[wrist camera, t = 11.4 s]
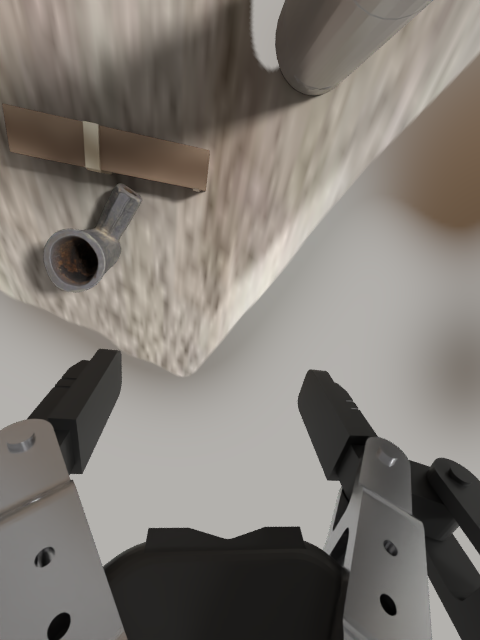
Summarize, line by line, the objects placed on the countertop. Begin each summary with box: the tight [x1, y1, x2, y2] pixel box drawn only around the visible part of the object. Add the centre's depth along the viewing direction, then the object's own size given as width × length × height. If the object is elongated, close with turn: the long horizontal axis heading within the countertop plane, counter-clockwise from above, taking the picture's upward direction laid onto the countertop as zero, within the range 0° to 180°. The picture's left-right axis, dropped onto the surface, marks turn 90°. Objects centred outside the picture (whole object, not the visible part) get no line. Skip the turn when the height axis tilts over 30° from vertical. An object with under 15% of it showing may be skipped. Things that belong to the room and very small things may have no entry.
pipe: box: [44, 183, 142, 292], centre depth 30 cm, size 6×13×8 cm, turn 142°
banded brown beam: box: [2, 103, 210, 192], centre depth 29 cm, size 4×20×4 cm, turn 80°
